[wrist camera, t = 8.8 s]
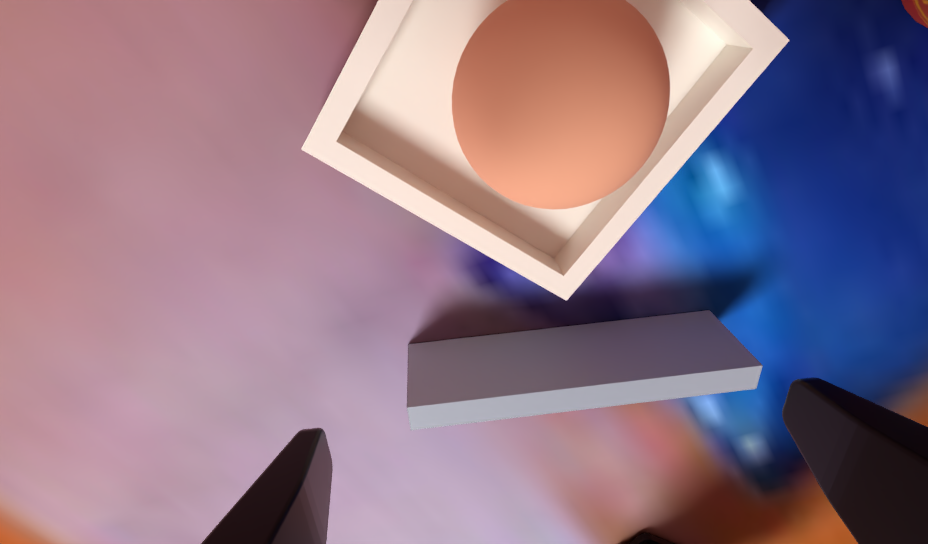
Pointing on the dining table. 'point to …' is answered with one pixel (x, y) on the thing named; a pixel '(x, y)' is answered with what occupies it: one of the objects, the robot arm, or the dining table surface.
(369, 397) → the dining table surface
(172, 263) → the dining table surface
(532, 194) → the ball
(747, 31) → the tray
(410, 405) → the rail
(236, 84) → the dining table surface
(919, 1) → the canned food
